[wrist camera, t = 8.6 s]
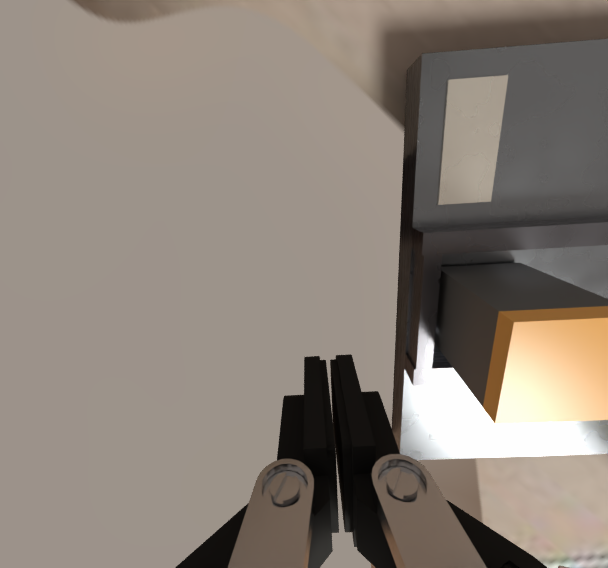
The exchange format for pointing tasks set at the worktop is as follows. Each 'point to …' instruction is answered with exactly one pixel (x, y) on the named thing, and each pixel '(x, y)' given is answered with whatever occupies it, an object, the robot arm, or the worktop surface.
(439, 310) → the toggle
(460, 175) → the panel
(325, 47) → the worktop surface
